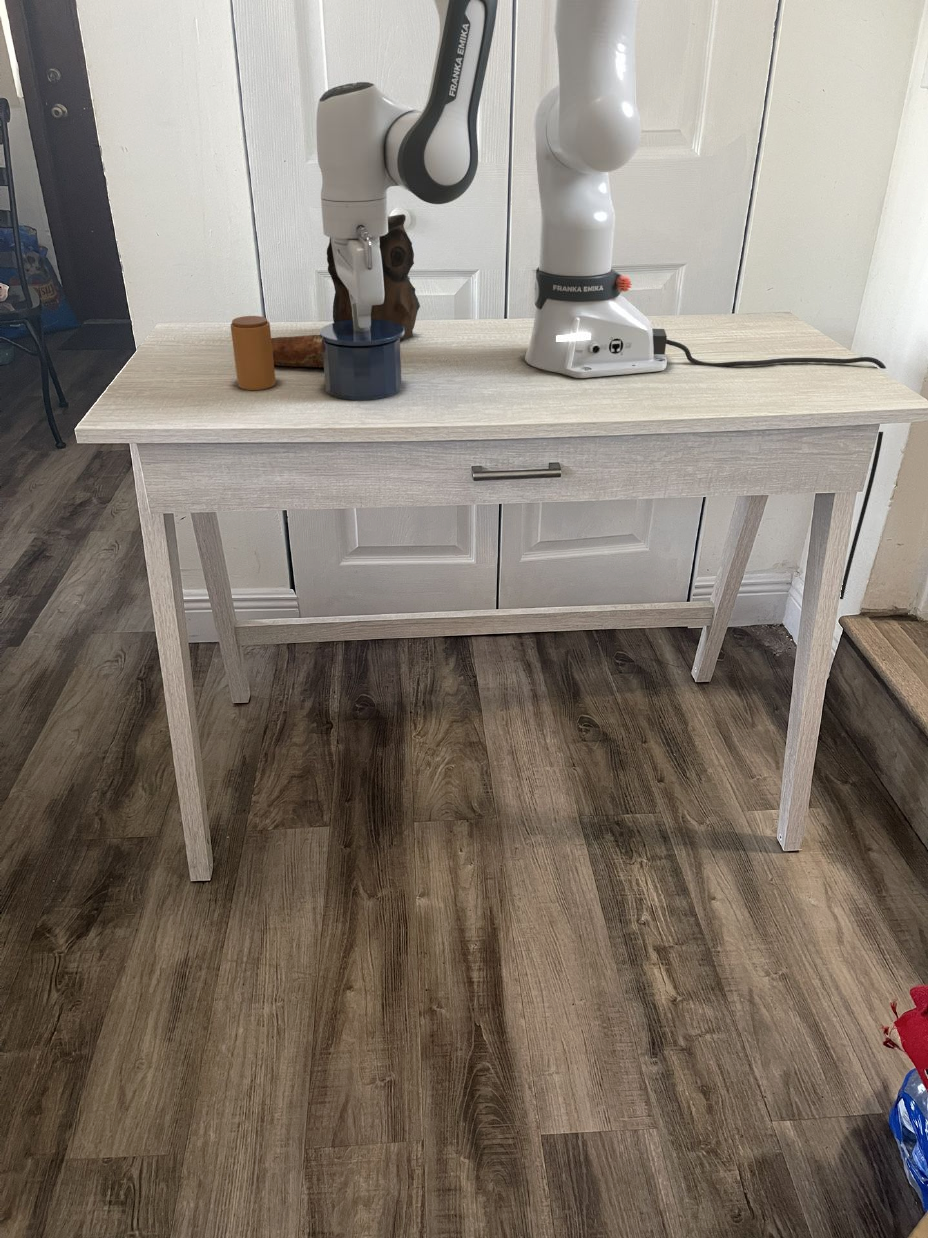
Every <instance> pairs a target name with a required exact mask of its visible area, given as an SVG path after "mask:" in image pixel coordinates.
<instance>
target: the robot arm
mask: <svg viewBox="0 0 928 1238" xmlns="http://www.w3.org/2000/svg"><path fill="white" fill-rule="evenodd" d="M432 1H433V3H434V5H435V8H436V11H437V14H438V20H439V21H438V22H439V35H438V42H437V48H436V53H435V57H434V58H435V59H434V62H433V63H434V65H433V69H432V74H431V79H430V80H431V81H430V85H429V90H428V96H427V100H426V103H425V105H424V107H423V109H422V111H421V110H418V109H416V108H413V107H410V106H408V105H406V104H404V103H402V102H400V101H398V100H397V99H394V98H392V97H390V96H389V95H387V94H386V93H384V92H383V91H382V90H380V89H379V88H378V87H377V86H376V85H375V83H372V82H369V81H359V82H358V81H357V82H354V83H353V82H351V83H350V82H349V83H346V84H341V85H337V86H334V87H332V88H330V89H328V90H326V91H325V92H324V93H323V94H322V95H321V97H320V98H319V100H318V104H317V109H316V118H315V119H316V122H315V123H316V124H315V126H316V127H315V132H316V135H315V136H316V155H317V163H318V167H319V169H320V172H321V179H322V184H321V189H320V204H321V205H320V206H321V217H322V229H323V235H325V237H328V238H330V237H331V244H332V250H333V257H334V262H335V267H336V271H337V274H338V277H339V278H340V279H341V281H342V282H343V283H344V285H345V286H346V288H347V289H348V290H349V296H350V301H351V306H352V304H354V303H356V306H357V313H356V317H357V324H358V326H359V327H360V328H369V327H370V326H371V309H372V305H381V304H383V302H384V281H383V269H382V259H381V252H380V248H379V246H380V241H379V237H380V236H383V235H386V234H387V233H388V200H387V199H388V197H387V191H388V189H389V188H390V187H400V188H402V189H403V190H405V191H408V192H411V193H412V194H413V196H415V197H416V198H418V199H419V200H421V201H423V202H425V203H428V204H431V205H444V204H448V203H451V202H454V201H455V200H457V199H459V198H460V197H461V196H463V195H464V194H465V193H466V192H467V190H468V189H469V188H470V186H471V185H472V183H473V181H474V179H475V177H476V174H477V170H478V167H479V144H478V142H479V141H478V132H477V131H478V130H477V127H478V125H477V124H478V114H479V108H480V102H481V97H482V93H483V92H482V91H483V87H484V82H485V77H486V71H487V66H488V63H489V58H490V52H491V47H492V42H493V37H494V31H495V26H496V19H497V10H498V5H499V0H432ZM555 3H556V4H555V14H554V15H555V16H554V24H553V31H554V37H555V41H556V50H557V64H558V65H557V66H558V85H556V86H554V87H553V88H551V89H550V90H549V91H547V92H546V93H545V94H544V95H543V96H542V97H541V98H540V99H539V101H538V103H537V104H536V106H535V109H534V112H533V115H532V122H531V123H532V133H533V137H534V143H535V159H536V173H537V181H538V182H537V183H538V184H537V185H538V193H539V205H540V229H539V230H540V231H539V234H540V235H539V259H538V267H536V270H535V277H534V289H533V290H534V291H533V292H534V293H533V303H534V306H535V314H534V320H533V326H532V331H531V336H530V340H529V344H528V347H527V351H526V354H525V356H524V360H525V362H526V363H527V364H528V365H530V366H532V367H534V368H536V369H540V370H543V371H547V372H552V373H557V374H563V375H566V376H568V377H571V378H575V379H584V378H585V379H586V378H598V377H608V376H619V375H630V374H641V373H654V372H662V371H664V370H666V368H667V365H668V364H667V362H668V360H667V356H666V347H667V345H668V346H672V347H675V348H678V349H680V350H682V351H683V352H684V354H685V357H686V359H687V360H688V362H690V363H692V364H693V365H696V366H706V367H717V368H729V367H731V368H732V367H751V366H752V367H754V366H766V365H774V364H786V363H787V364H788V363H790V364H791V363H819V364H820V363H821V364H855V363H864V362H865V363H872V364H874V365H876V366H877V367H878V368H880V369H883V370H885V369H887V366H886V365H885V364H884V363H883V361H881V360H880V359H877V358H875V357H872V356H859V357H853V358H851V357H850V358H833V357H782V358H772V359H771V358H770V359H762V360H761V359H760V360H736V361H725V362H705V361H701V360H699V359H696V358H694V357H693V356H692V353H691V351H690V349H689V347H687V346H686V345H685V344H683V343H680V342H678V341H674V340H672V339H667V338H668V336H667V333H666V330H665V328H653V327H652V324H651V322H650V321H649V319H648V317H646V316H645V315H644V314H643V313H642V312H641V311H640V310H639V309H638V308H636V307H635V306H634V305H633V304H632V303H631V302H630V301H629V300H628V299H626V298H625V297H624V296H623V295H622V294H621V293H622V292H625V293H626V292H628V291H630V289H631V287H632V284H633V283H632V281H631V279H630V278H629V277H628V276H627V275H622V274H621V273H619V272H617V271H616V270H615V269H613V268H612V262H613V249H614V237H615V226H616V225H615V224H616V212H615V208H614V205H613V201H612V200H613V199H612V193H611V185H610V176H609V175H610V174H609V173H611V172H614V171H617V170H619V169H621V168H623V166H625V165H626V164H628V162H630V160H631V159H632V158H633V157H634V156H635V154H636V152H637V150H638V148H639V145H640V142H641V139H642V120H641V116H640V113H639V110H638V105H637V73H636V71H637V69H636V35H637V34H636V33H637V22H638V13H639V6H640V0H556V2H555ZM352 316H353V313H352ZM883 437H884V431H878V433H877V440H876V445H875V451H874V454H873V455H874V456H873V460H872V466H871V470H870V474H869V477H868V483H867V486H866V490H865V495H864V499H863V502H862V506H861V510H860V513H859V517H858V521H857V525H856V528H855V532H854V535H853V540H852V544H851V548H850V551H849V555H848V559H847V562H846V567H845V572H844V575H843V578H842V583H843V585H842V584H841V587H842V590H841V589H840V592H841V597H840V599H839V600H844V597H845V593H846V589H847V584H848V580H849V576H850V572H851V567H852V564H853V561H854V560H853V559H854V556H855V552H856V549H857V545H858V542H859V541H858V540H859V537H860V533H861V529H862V526H863V523H864V518H865V514H866V511H867V507H868V504H869V500H870V496H871V492H872V488H873V485H874V480H875V477H876V476H875V475H876V471H877V467H878V463H879V458H880V453H881V448H882V443H883Z"/></svg>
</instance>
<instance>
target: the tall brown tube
mask: <svg viewBox="0 0 928 1238" xmlns="http://www.w3.org/2000/svg"><path fill="white" fill-rule="evenodd" d="M229 326H230V333H231V340H232V347H233V348H232V349H233V358H234V366H235V372H236V381H237V386H238V388H240V389H242V390H245V391H260V390H267V389H271V388H273V387H275V386H276V384H277V379H276V370H275V365H274V360H273V351H272V341H271V338H272V331H271V323H270V321H269V320H268V318H267V317H265V316H261V315H243V316H239V317H235V318H234V319H232V320H231V323H230V325H229Z"/></svg>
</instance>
